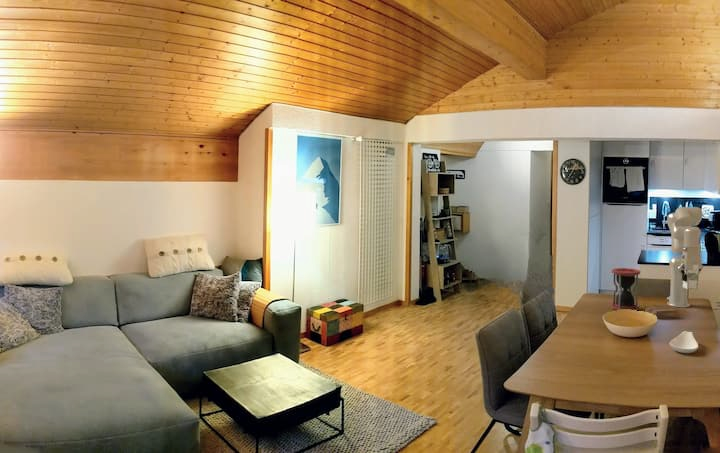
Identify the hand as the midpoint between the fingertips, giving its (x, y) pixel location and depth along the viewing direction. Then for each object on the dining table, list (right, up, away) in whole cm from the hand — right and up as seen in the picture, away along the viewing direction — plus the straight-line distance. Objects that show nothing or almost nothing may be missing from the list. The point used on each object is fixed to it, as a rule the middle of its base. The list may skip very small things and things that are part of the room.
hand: (690, 280), depth 305 cm
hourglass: (-22, -22, +31) cm, 44 cm away
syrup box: (0, -5, +1) cm, 5 cm away
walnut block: (-10, -23, +12) cm, 28 cm away
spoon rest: (-31, -29, -46) cm, 62 cm away
